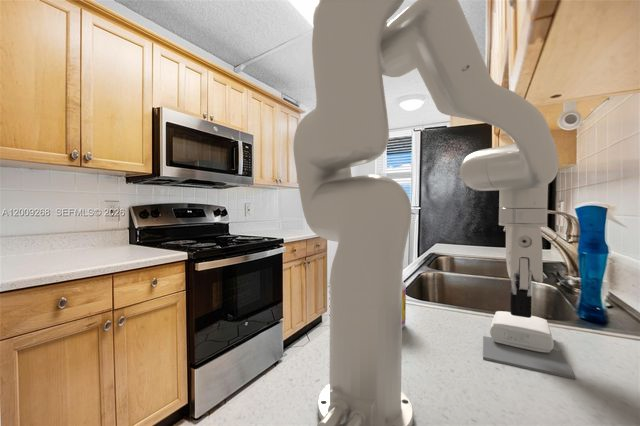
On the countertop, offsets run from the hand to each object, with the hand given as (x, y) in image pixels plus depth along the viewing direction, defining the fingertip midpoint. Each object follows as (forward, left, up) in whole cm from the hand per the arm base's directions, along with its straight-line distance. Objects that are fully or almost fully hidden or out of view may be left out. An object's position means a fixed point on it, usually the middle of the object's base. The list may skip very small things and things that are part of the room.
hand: (520, 315), depth 57 cm
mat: (-1, 0, -7) cm, 7 cm away
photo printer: (0, 0, -4) cm, 5 cm away
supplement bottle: (+1, +25, -7) cm, 26 cm away
